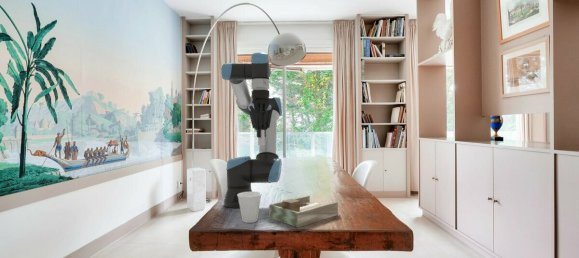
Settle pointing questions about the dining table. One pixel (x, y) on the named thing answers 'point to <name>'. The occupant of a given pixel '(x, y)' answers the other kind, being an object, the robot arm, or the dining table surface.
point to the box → (303, 212)
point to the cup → (249, 206)
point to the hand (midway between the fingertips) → (261, 145)
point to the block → (291, 204)
